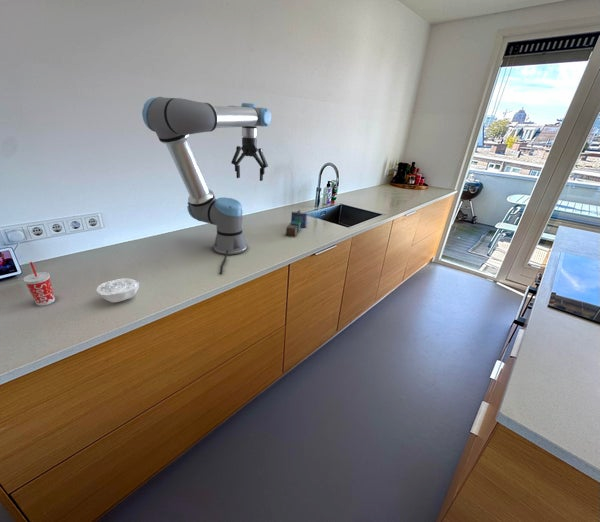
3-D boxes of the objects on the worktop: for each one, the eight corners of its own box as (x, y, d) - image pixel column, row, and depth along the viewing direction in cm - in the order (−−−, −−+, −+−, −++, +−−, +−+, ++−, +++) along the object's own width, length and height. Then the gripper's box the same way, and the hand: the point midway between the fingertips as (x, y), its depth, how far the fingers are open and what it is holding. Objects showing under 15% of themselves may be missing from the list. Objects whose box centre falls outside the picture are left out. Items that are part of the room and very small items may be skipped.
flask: (306, 226, 174) (307, 209, 169) (306, 228, 171) (307, 210, 167) (291, 225, 174) (291, 208, 169) (290, 227, 171) (291, 209, 167)
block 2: (294, 237, 157) (295, 228, 155) (285, 235, 158) (286, 227, 156) (297, 234, 161) (297, 225, 159) (288, 232, 162) (289, 224, 160)
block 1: (298, 232, 163) (298, 224, 161) (289, 231, 164) (290, 223, 162) (300, 230, 168) (300, 221, 166) (292, 228, 169) (292, 220, 167)
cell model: (138, 305, 93) (134, 287, 90) (95, 309, 89) (89, 291, 86) (144, 289, 101) (140, 272, 98) (105, 292, 98) (100, 275, 95)
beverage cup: (30, 308, 88) (13, 268, 82) (37, 297, 93) (21, 259, 87) (55, 305, 90) (40, 265, 84) (60, 294, 95) (47, 256, 89)
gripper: (274, 139, 149) (273, 180, 158) (230, 135, 154) (231, 175, 163) (269, 139, 142) (268, 182, 152) (223, 135, 147) (225, 177, 157)
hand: (249, 179), depth 157 cm, fingers open, 13 cm apart
